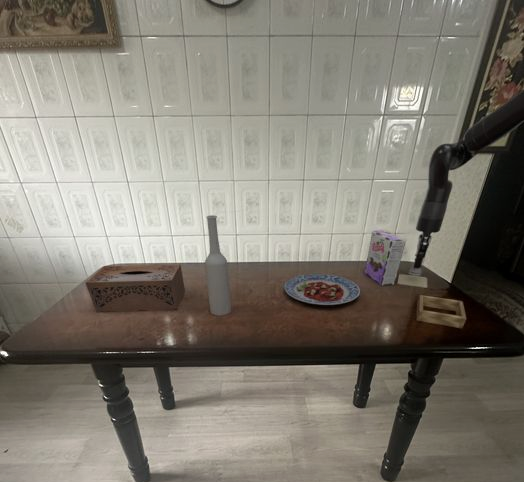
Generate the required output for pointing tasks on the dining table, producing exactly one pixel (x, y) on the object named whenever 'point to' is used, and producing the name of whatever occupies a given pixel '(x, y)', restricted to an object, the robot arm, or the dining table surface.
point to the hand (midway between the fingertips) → (416, 265)
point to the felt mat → (412, 280)
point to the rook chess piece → (415, 269)
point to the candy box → (384, 257)
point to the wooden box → (441, 318)
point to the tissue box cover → (137, 287)
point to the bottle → (217, 273)
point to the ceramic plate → (322, 289)
